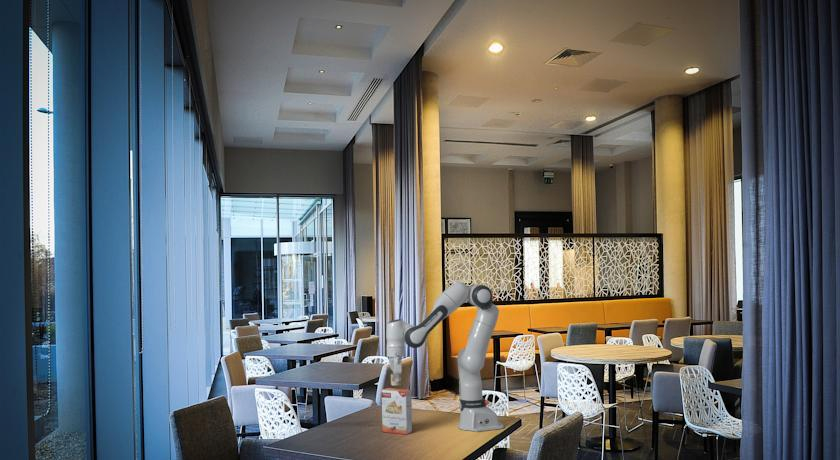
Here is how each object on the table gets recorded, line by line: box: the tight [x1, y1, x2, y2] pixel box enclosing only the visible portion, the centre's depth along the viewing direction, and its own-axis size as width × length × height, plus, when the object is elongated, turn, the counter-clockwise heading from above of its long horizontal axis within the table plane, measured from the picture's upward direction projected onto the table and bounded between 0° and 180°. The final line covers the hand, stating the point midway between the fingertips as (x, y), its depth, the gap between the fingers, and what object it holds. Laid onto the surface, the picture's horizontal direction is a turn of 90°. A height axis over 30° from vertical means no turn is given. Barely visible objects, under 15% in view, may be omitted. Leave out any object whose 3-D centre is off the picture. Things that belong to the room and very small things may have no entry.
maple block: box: [390, 373, 402, 387], centre depth 311 cm, size 4×4×5 cm
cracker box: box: [381, 387, 413, 435], centre depth 310 cm, size 14×6×21 cm, turn 62°
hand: (396, 380), depth 311 cm, fingers closed on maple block, 4 cm apart
